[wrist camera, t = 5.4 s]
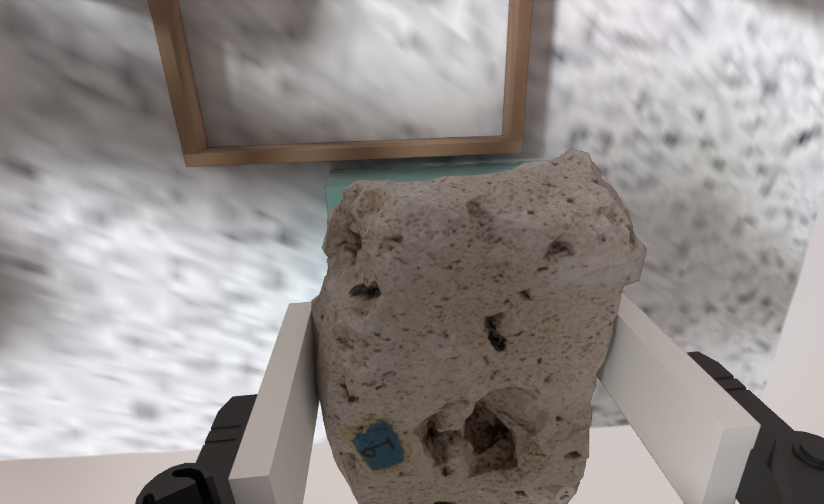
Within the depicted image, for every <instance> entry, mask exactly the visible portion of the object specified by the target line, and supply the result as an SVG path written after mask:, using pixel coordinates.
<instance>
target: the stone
mask: <svg viewBox="0 0 824 504" xmlns="http://www.w3.org/2000/svg"><path fill="white" fill-rule="evenodd" d="M342 196H343V201H342V202H341V203H340V204H339V205H336V206H334V207H332V208H331V210H330V213H329V216H328V220H327V233H326V236H325V239H324V242H323V246H322V249H323V251H324V253H325V254H326V255H327V256H328V258H327V263H328V271H327V275H326V276H325V277H324V282H323V285H322V288H321V291H320V294H319V295H318V296H317V297H316V298H314V299H313V300H312V301H311V319H312V334H313V343H314V347H315V369H316V386H317V390H318V395H319V399H320V403H321V409H322V415H323V421H324V426H325V430H326V435H327V439H328V441H329V444H330V446H331V449H332V453H333V457H334V460H335V462H336V464H337V466H338V468H339V470H340V471H341V473H342V474H343V476H344V478H345V479H346V481H347V483H348V484H349V486H350V488H351V490H352V492H353V495H354V496H355V498H356V500H357V502H358V504H568V502H569V501H570V500H571V498H572V497H573V496H574V495H575V494H576V492H577V489H578V486H579V484H580V480H581V479H582V478H583V475H584V470H585V467H586V459H587V458H589V428H590V426H591V420H592V410H591V406H590V401H591V398H592V395H593V392H594V389H595V385H596V378H597V377H596V372H597V371H598V369H599V368H600V366H601V365H602V364H603V362H604V360H605V357H606V354H607V351H608V347H609V344H610V340H611V337H612V329H613V321H614V319H615V317H616V315H617V314H618V311H619V306H620V300H621V294H622V289H623V287H624V286H627V285H629V284H632V283H634V282H637V281H639V279H640V275H641V270H642V266H643V262H644V258H645V254H646V250H647V249H646V248H645V246H644V245H643V243H642V242H641V241H640V240H639V239H638V238H637V237H636V235H635V234H634V232H633V226H632V223H631V219H630V216H629V213H628V210H627V209H625V208H624V207H623V204H622V202H621V200H620V198H619V196H618V195H617V193H616V191H615V190H614V188H613V187H612V186H611V185H609V184H608V183H606V182H605V181H604V180H602V179H601V171H600V170H599V169H598V168H597V166H596V165H595V164H594V163H593V162H592V160H591V158H590V156H589V153H586V152H582V151H579V150H575V149H570V150H569V151H567V152H566V153H564V154H563V155H561V156H560V157H559V158H557V159H556V160H554V161H553V162H551V161H534V162H524V163H523V164H521V165H520V166H518V167H516V168H515V169H513V170H506V171H503V172H499V173H489V174H485V175H472V176H443V177H440V178H436V179H433V180H427V181H407V182H396V181H393V180H380V181H371V180H357V181H355V182H353V183H352V184H351V185H350V186H348V187H347V188H346V189H344V190H343V191H342Z"/></svg>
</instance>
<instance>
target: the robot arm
mask: <svg viewBox="0 0 824 504" xmlns="http://www.w3.org/2000/svg"><path fill="white" fill-rule="evenodd" d="M596 376H597V377H598V378H599V380H600V381H601V383H602V384H603V386H604V387H605V389H606V390H607V392H608V393H609V395H610V396H611V397H612V399H613V400H614V402H615V403H616V405H617V406H618V408H619V409H620V411H621V412H622V414H623V415H624V416H625V418H626V419H627V421H628V422H629V424H630V425H631V427H632V428H633V430H634V431H635V432H636V434H637V435H638V437H639V438H640V440H641V441H642V443H643V444H644V446H645V447H646V449H647V450H648V451H649V453H650V454H651V456H652V457H653V459H654V460H655V462H656V463H657V465H658V466H659V468H660V469H661V470H662V472H663V473H664V475H665V476H666V478H667V479H668V481H669V482H670V484H671V485H672V486H673V488H674V489H675V491H676V492H677V494H678V495H679V496H680V498H681V500H682V501H683V502H684V504H735V501H736V499H737V500H738V502H739V503H740V504H824V438H822V437H820V436H817V435H814V434H810V433H807V432H802V431H794V430H793V429H792V428H791V427H790V426H788V425H787V424H786V423H785V422H784V421H783V420H782V419H781V418H780V417H778V416H777V415H776V414H775V413H774V412H773V411H772V410H771V409H769V408H768V407H767V406H766V405H765V404H764V403H763V402H762V401H761V400H760V399H758V398H757V397H756V396H755V395H754V394H753V393H752V392H751V391H750V390H746V387H745V386H744V385H743V384H742V383H741V382H740V381H738V380H737V379H734V377H733V375H732V374H731V373H730V372H728V371H727V370H726V369H725V368H724V367H723V366H722V365H721V364H720V363H718V362H717V361H715V360H713V359H711V358H709V357H707V356H706V355H704V354H702V353H700V352H688V353H686V352H685V351H684V350H683V349H681V348H680V347H679V346H678V345H677V344H676V343H675V342H674V341H673V340H672V339H671V338H670V337H669V336H668V335H667V334H666V333H665V332H664V331H663V330H662V329H661V328H660V327H659V326H658V325H657V324H656V323H655V322H653V321H652V320H651V319H650V318H649V317H648V316H647V315H646V314H645V313H644V312H643V311H642V310H641V309H640V308H639V307H638V306H637V305H636V304H635V303H634V302H633V301H632V300H631V299H630V298H629V297H628V296H627V295H625V294H624V293H623V292H622V294H621V300H620V306H619V311H618V314H617V315H616V317H615V319H614V321H613V329H612V337H611V340H610V344H609V347H608V351H607V354H606V357H605V360H604V362H603V364H602V365H601V366H600V368H599V369H598V371H597V372H596ZM319 400H320V399H319V395H318V390H317V386H316V369H315V347H314V343H313V334H312V319H311V302H303V303H291V304H289V305H288V308H287V311H286V314H285V317H284V320H283V323H282V326H281V329H280V331H279V334H278V337H277V340H276V343H275V346H274V349H273V352H272V355H271V357H270V360H269V363H268V366H267V369H266V372H265V375H264V378H263V381H262V383H261V386H260V389H259V392H258V394H255V395H244V396H234V397H232V398H231V399H230V400H229V401H228V402H227V403H226V404H225V405H224V406H223V407H222V408H221V409H220V410H219V411H218V413H217V415H216V418H215V420H214V422H213V425H212V427H211V431H209V434H208V436H207V438H206V440H205V445H203V447H202V449H201V452H200V454H199V456H198V459H197V461H196V463H184V464H180V465H177V466H173V467H171V468H169V469H167V470H165V471H164V472H162V473H160V474H158V475H157V476H156V477H154V478H153V479H152V480H151V481H150V482H149V483H148V484H146V485H145V487H144V488H143V490H142V491H141V492H140V494H139V495H138V497H137V499H136V503H135V504H303V499H304V493H305V487H306V480H307V474H308V468H309V462H310V455H311V450H312V444H313V437H314V431H315V425H316V419H317V413H318V407H319Z"/></svg>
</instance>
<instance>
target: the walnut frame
mask: <svg viewBox="0 0 824 504" xmlns="http://www.w3.org/2000/svg"><path fill="white" fill-rule="evenodd" d="M532 1H533V0H509V12H508V31H507V50H506V69H505V88H504V107H503V126H502V136H478V137H453V138H428V139H404V140H379V141H354V142H330V143H305V144H280V145H255V146H231V147H208V145H207V140H206V135H205V130H204V125H203V121H202V116H201V111H200V106H199V101H198V96H197V91H196V87H195V82H194V77H193V72H192V67H191V62H190V58H189V53H188V48H187V43H186V38H185V33H184V28H183V24H182V19H181V14H180V9H179V4H178V0H148V2H149V7H150V11H151V16H152V20H153V24H154V29H155V33H156V37H157V42H158V46H159V50H160V55H161V59H162V64H163V68H164V72H165V77H166V81H167V85H168V90H169V94H170V98H171V103H172V107H173V111H174V116H175V120H176V125H177V129H178V133H179V138H180V142H181V146H182V151H183V155H184V159H185V164H186V167H198V166H222V165H245V164H268V163H292V162H315V161H338V160H362V159H385V158H408V157H431V156H455V155H478V154H501V153H522V142H523V127H524V113H525V99H526V85H527V71H528V57H529V43H530V29H531V15H532Z"/></svg>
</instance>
